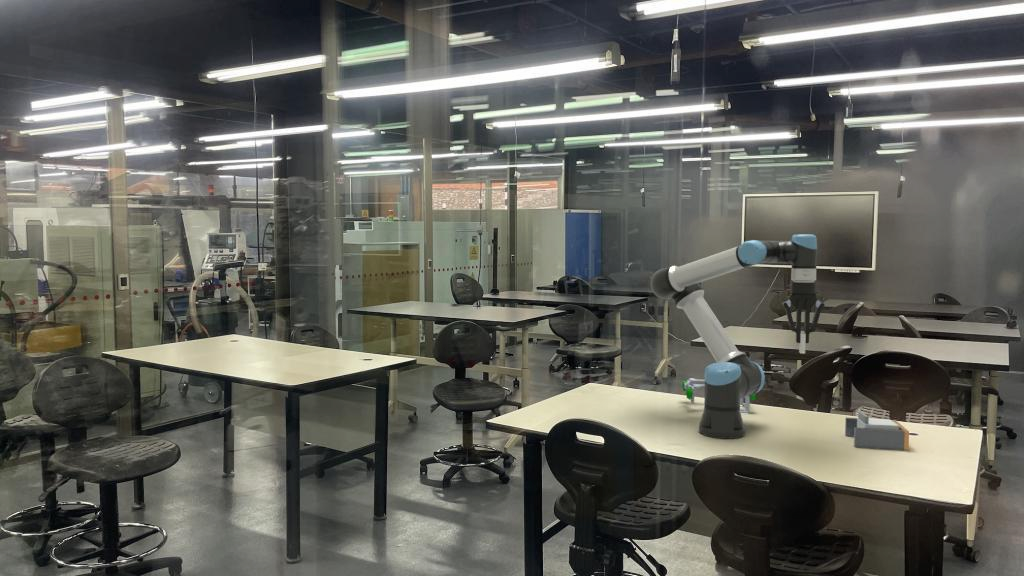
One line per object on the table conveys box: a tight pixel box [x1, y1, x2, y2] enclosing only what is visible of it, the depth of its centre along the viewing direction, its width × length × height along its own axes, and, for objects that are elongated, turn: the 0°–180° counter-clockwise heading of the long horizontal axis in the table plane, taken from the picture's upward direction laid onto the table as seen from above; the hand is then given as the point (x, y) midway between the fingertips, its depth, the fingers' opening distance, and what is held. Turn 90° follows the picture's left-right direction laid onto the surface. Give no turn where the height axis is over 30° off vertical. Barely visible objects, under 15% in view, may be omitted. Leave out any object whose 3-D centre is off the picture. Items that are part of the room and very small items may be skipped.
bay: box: [844, 417, 910, 452], centre depth 220 cm, size 15×14×6 cm
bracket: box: [681, 377, 756, 414], centre depth 269 cm, size 19×25×10 cm
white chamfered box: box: [856, 411, 899, 430], centre depth 220 cm, size 10×8×9 cm
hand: (802, 352), depth 224 cm, fingers closed
